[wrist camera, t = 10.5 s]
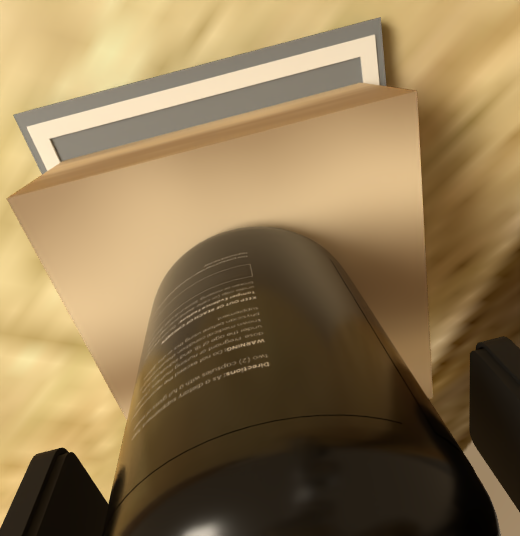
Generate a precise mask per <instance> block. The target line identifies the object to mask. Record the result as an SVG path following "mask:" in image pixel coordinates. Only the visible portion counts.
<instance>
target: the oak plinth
mask: <svg viewBox="0 0 520 536" xmlns="http://www.w3.org/2000/svg"><path fill="white" fill-rule="evenodd" d="M7 200H8V202H9V204H10V206H11V208H12V210H13V212H14V213H15V215H16V217H17V219H18V221H19V223H20V224H21V226H22V228H23V230H24V232H25V234H26V235H27V237H28V239H29V241H30V243H31V245H32V247H33V248H34V250H35V252H36V254H37V256H38V258H39V259H40V261H41V263H42V265H43V267H44V269H45V271H46V272H47V274H48V276H49V278H50V280H51V282H52V283H53V285H54V287H55V289H56V291H57V293H58V294H59V296H60V298H61V300H62V302H63V304H64V306H65V307H66V309H67V311H68V313H69V315H70V317H71V318H72V320H73V322H74V324H75V326H76V328H77V330H78V331H79V333H80V335H81V337H82V339H83V341H84V342H85V344H86V346H87V348H88V350H89V352H90V353H91V355H92V357H93V359H94V361H95V363H96V365H97V366H98V368H99V370H100V372H101V374H102V376H103V377H104V379H105V381H106V383H107V385H108V387H109V388H110V390H111V392H112V394H113V396H114V398H115V400H116V401H117V403H118V405H119V407H120V409H121V411H122V412H123V414H124V416H125V418H126V420H127V418H128V414H129V409H130V404H131V400H132V395H133V391H134V386H135V382H136V377H137V373H138V368H139V363H140V359H141V354H142V350H143V345H144V341H145V336H146V332H147V327H148V323H149V318H150V315H151V311H152V307H153V303H154V299H155V296H156V294H157V291H158V288H159V286H160V284H161V282H162V280H163V279H164V277H165V275H166V274H167V272H168V271H169V270H170V268H171V267H172V266H173V265H174V263H175V262H176V261H177V260H178V259H179V258H180V257H181V256H182V255H184V254H185V253H186V252H187V251H189V250H190V249H191V248H193V247H194V246H195V245H197V244H198V243H200V242H202V241H204V240H206V239H208V238H210V237H212V236H214V235H217V234H219V233H222V232H226V231H229V230H233V229H238V228H244V227H259V226H262V227H274V228H281V229H285V230H289V231H292V232H295V233H298V234H301V235H303V236H305V237H307V238H309V239H311V240H313V241H315V242H316V243H318V244H320V245H321V246H322V247H323V248H325V249H326V250H327V251H328V252H329V253H330V254H331V255H332V256H333V257H334V258H335V259H336V260H337V261H338V262H339V263H340V265H341V266H342V267H343V269H344V270H345V272H346V273H347V274H348V276H349V277H350V279H351V280H352V282H353V283H354V285H355V286H356V288H357V289H358V291H359V292H360V294H361V295H362V297H363V299H364V300H365V302H366V303H367V305H368V306H369V308H370V309H371V311H372V312H373V314H374V316H375V317H376V319H377V320H378V322H379V323H380V325H381V326H382V328H383V329H384V331H385V333H386V334H387V336H388V337H389V339H390V340H391V342H392V343H393V345H394V346H395V348H396V349H397V351H398V353H399V354H400V356H401V357H402V359H403V360H404V362H405V363H406V365H407V366H408V368H409V370H410V371H411V373H412V374H413V376H414V377H415V379H416V380H417V382H418V383H419V385H420V387H421V388H422V390H423V391H424V393H425V394H426V396H427V397H428V399H429V398H433V389H432V370H431V350H430V331H429V312H428V293H427V274H426V254H425V235H424V216H423V197H422V178H421V159H420V139H419V120H418V101H417V91H415V90H408V89H401V88H394V87H388V86H381V85H374V84H367V83H357V84H353V85H349V86H345V87H341V88H338V89H334V90H330V91H326V92H322V93H319V94H315V95H311V96H307V97H303V98H300V99H296V100H292V101H288V102H284V103H281V104H277V105H273V106H269V107H265V108H262V109H258V110H254V111H250V112H246V113H243V114H239V115H235V116H231V117H227V118H224V119H220V120H216V121H212V122H208V123H205V124H201V125H197V126H193V127H189V128H186V129H182V130H178V131H174V132H170V133H167V134H163V135H159V136H155V137H152V138H148V139H144V140H140V141H136V142H133V143H129V144H125V145H121V146H117V147H114V148H110V149H106V150H102V151H98V152H95V153H91V154H87V155H83V156H79V157H76V158H72V159H68V160H64V161H62V162H60V163H59V164H57V165H56V166H54V167H53V168H51V169H50V170H48V171H47V172H45V173H44V174H42V175H41V176H39V177H38V178H37V179H35V180H34V181H32V182H31V183H29V184H28V185H26V186H25V187H23V188H22V189H20V190H19V191H17V192H16V193H14V194H13V195H11V196H10V197H8V198H7Z"/></svg>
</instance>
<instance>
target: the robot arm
mask: <svg viewBox="0 0 520 536" xmlns="http://www.w3.org/2000/svg"><path fill="white" fill-rule="evenodd" d="M470 435H471V438H472V441H473V443H474V445H475V446H476V448H477V450H478V451H479V452H480V454H481V456H482V457H483V458H484V460H485V461H486V463H487V464H488V466H489V467H490V469H491V470H492V472H493V473H494V475H495V476H496V478H497V479H498V481H499V482H500V483H501V485H502V486H503V488H504V489H505V491H506V492H507V494H508V495H509V497H510V498H511V500H512V501H513V503H514V504H515V506H516V507H517V509H518V510H519V512H520V349H519V348H518V347H517V346H516V345H515V344H514V343H513V342H512V341H511V340H510V339H508V338H507V337H504V336H503V337H499V338H495V339H491V340H487V341H484V342H480V343H478V344H477V345H476V350H475V351H472V352H471V353H470ZM107 509H108V503H107V502H106V500H105V498H104V497H103V495H102V494H101V492H100V491H99V489H98V488H97V486H96V485H95V483H94V482H93V480H92V479H91V477H90V476H89V474H88V473H87V471H86V470H85V468H84V467H83V465H82V464H81V462H80V461H79V459H78V458H77V456H76V455H75V454H74V453H73V452H70V453H69V452H68V451H67V450H66V449H65V448H59V449H55V450H51V451H47V452H43V453H39V454H36V455H35V456H34V457H33V459H32V460H31V462H30V464H29V466H28V469H27V471H26V473H25V475H24V477H23V480H22V482H21V484H20V486H19V489H18V491H17V493H16V495H15V497H14V500H13V502H12V504H11V506H10V508H9V511H8V513H7V515H6V517H5V519H4V522H3V524H2V526H1V528H0V536H102V532H103V527H104V523H105V518H106V514H107Z"/></svg>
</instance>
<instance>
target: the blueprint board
mask: <svg viewBox="0 0 520 536" xmlns="http://www.w3.org/2000/svg"><path fill="white" fill-rule="evenodd" d="M357 83H367V84H374V85H381V86H386V76H385V64H384V52H383V40H382V28H381V17H380V18H376V19H372V20H368V21H364V22H361V23H357V24H353V25H349V26H346V27H342V28H338V29H334V30H330V31H327V32H323V33H319V34H315V35H312V36H308V37H304V38H300V39H297V40H293V41H289V42H285V43H281V44H278V45H274V46H270V47H266V48H263V49H259V50H255V51H251V52H248V53H244V54H240V55H236V56H232V57H229V58H225V59H221V60H217V61H214V62H210V63H206V64H202V65H199V66H195V67H191V68H187V69H184V70H180V71H176V72H172V73H168V74H165V75H161V76H157V77H153V78H150V79H146V80H142V81H138V82H135V83H131V84H127V85H123V86H119V87H116V88H112V89H108V90H104V91H101V92H97V93H93V94H89V95H86V96H82V97H78V98H74V99H70V100H67V101H63V102H59V103H55V104H52V105H48V106H44V107H40V108H37V109H33V110H29V111H25V112H22V113H18V114H14V115H13V116H14V118H15V120H16V122H17V124H18V126H19V128H20V130H21V132H22V134H23V136H24V138H25V140H26V142H27V145H28V147H29V149H30V151H31V153H32V155H33V157H34V159H35V161H36V163H37V165H38V167H39V169H40V171H41V173H42V174H44V173H45V172H47V171H48V170H50V169H51V168H53V167H54V166H56V165H57V164H59V163H60V162H62V161H64V160H68V159H72V158H76V157H79V156H83V155H87V154H91V153H95V152H98V151H102V150H106V149H110V148H114V147H117V146H121V145H125V144H129V143H133V142H136V141H140V140H144V139H148V138H152V137H155V136H159V135H163V134H167V133H170V132H174V131H178V130H182V129H186V128H189V127H193V126H197V125H201V124H205V123H208V122H212V121H216V120H220V119H224V118H227V117H231V116H235V115H239V114H243V113H246V112H250V111H254V110H258V109H262V108H265V107H269V106H273V105H277V104H281V103H284V102H288V101H292V100H296V99H300V98H303V97H307V96H311V95H315V94H319V93H322V92H326V91H330V90H334V89H338V88H341V87H345V86H349V85H353V84H357Z"/></svg>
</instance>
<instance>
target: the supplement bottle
mask: <svg viewBox="0 0 520 536" xmlns="http://www.w3.org/2000/svg"><path fill="white" fill-rule="evenodd" d="M102 536H501V534H500V529H499V524H498V519H497V515H496V512H495V510H494V507H493V504H492V502H491V500H490V497H489V495H488V493H487V491H486V490H485V488H484V486H483V484H482V483H481V481H480V479H479V478H478V477H477V475H476V473H475V471H474V469H473V467H472V466H471V464H470V463H469V461H468V459H467V458H466V456H465V455H464V453H463V451H462V450H461V448H460V447H459V445H458V444H457V442H456V441H455V439H454V438H453V436H452V434H451V433H450V431H449V430H448V428H447V427H446V425H445V424H444V422H443V420H442V419H441V417H440V416H439V414H438V413H437V411H436V410H435V408H434V407H433V405H432V404H431V402H430V400H429V399H428V397H427V396H426V394H425V393H424V391H423V390H422V388H421V387H420V385H419V383H418V382H417V380H416V379H415V377H414V376H413V374H412V373H411V371H410V370H409V368H408V366H407V365H406V363H405V362H404V360H403V359H402V357H401V356H400V354H399V353H398V351H397V349H396V348H395V346H394V345H393V343H392V342H391V340H390V339H389V337H388V336H387V334H386V333H385V331H384V329H383V328H382V326H381V325H380V323H379V322H378V320H377V319H376V317H375V316H374V314H373V312H372V311H371V309H370V308H369V306H368V305H367V303H366V302H365V300H364V299H363V297H362V295H361V294H360V292H359V291H358V289H357V288H356V286H355V285H354V283H353V282H352V280H351V279H350V277H349V276H348V274H347V273H346V272H345V270H344V269H343V267H342V266H341V265H340V263H339V262H338V261H337V260H336V259H335V258H334V257H333V256H332V255H331V254H330V253H329V252H328V251H327V250H326V249H325V248H323V247H322V246H321V245H320V244H318V243H316V242H315V241H313V240H311V239H309V238H307V237H305V236H303V235H301V234H298V233H295V232H292V231H289V230H285V229H281V228H274V227H262V226H259V227H244V228H238V229H233V230H229V231H226V232H222V233H219V234H217V235H214V236H212V237H210V238H208V239H206V240H204V241H202V242H200V243H198V244H197V245H195V246H194V247H193V248H191V249H190V250H189V251H187V252H186V253H185V254H184V255H182V256H181V257H180V258H179V259H178V260H177V261H176V262H175V263H174V265H173V266H172V267H171V268H170V270H169V271H168V272H167V274H166V275H165V277H164V279H163V280H162V282H161V284H160V286H159V288H158V291H157V294H156V296H155V299H154V303H153V307H152V311H151V315H150V318H149V323H148V327H147V332H146V336H145V341H144V345H143V350H142V354H141V359H140V363H139V368H138V373H137V377H136V382H135V386H134V391H133V395H132V400H131V404H130V409H129V414H128V418H127V423H126V427H125V432H124V436H123V441H122V445H121V450H120V454H119V459H118V464H117V468H116V473H115V477H114V482H113V486H112V491H111V495H110V500H109V505H108V509H107V514H106V518H105V523H104V527H103V532H102Z"/></svg>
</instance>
